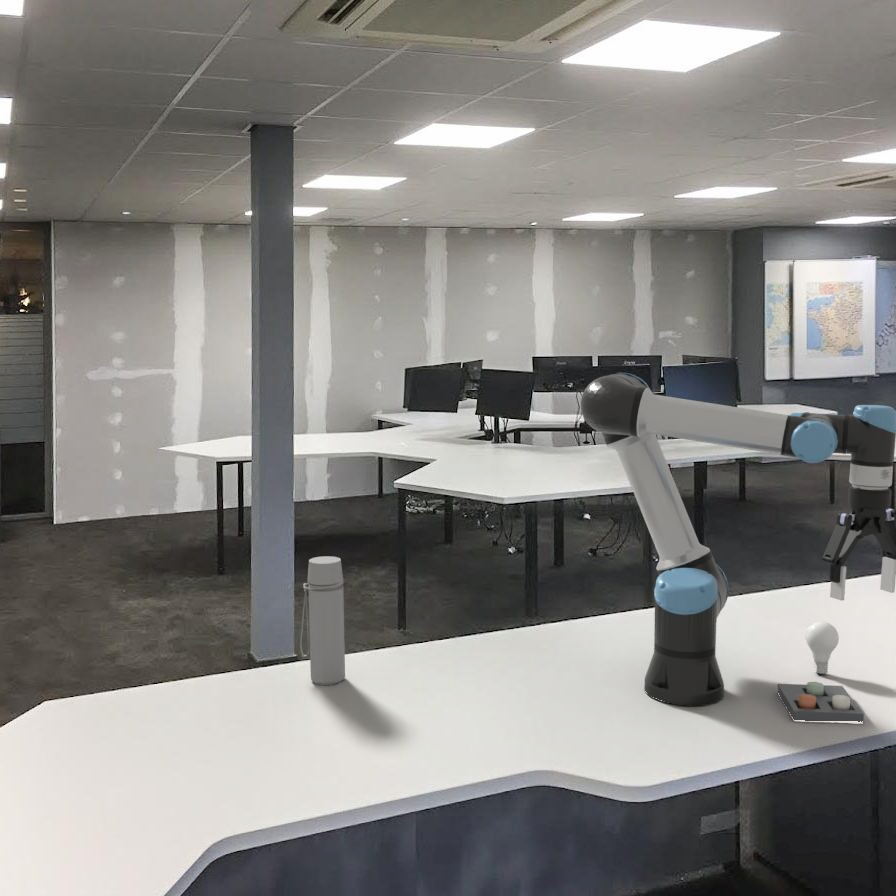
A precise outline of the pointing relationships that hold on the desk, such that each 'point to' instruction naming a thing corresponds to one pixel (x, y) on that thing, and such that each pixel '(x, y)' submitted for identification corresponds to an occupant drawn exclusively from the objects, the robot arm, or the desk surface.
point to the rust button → (807, 701)
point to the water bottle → (325, 620)
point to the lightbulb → (821, 644)
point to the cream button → (840, 702)
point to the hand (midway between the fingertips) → (862, 594)
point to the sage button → (815, 688)
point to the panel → (818, 704)
